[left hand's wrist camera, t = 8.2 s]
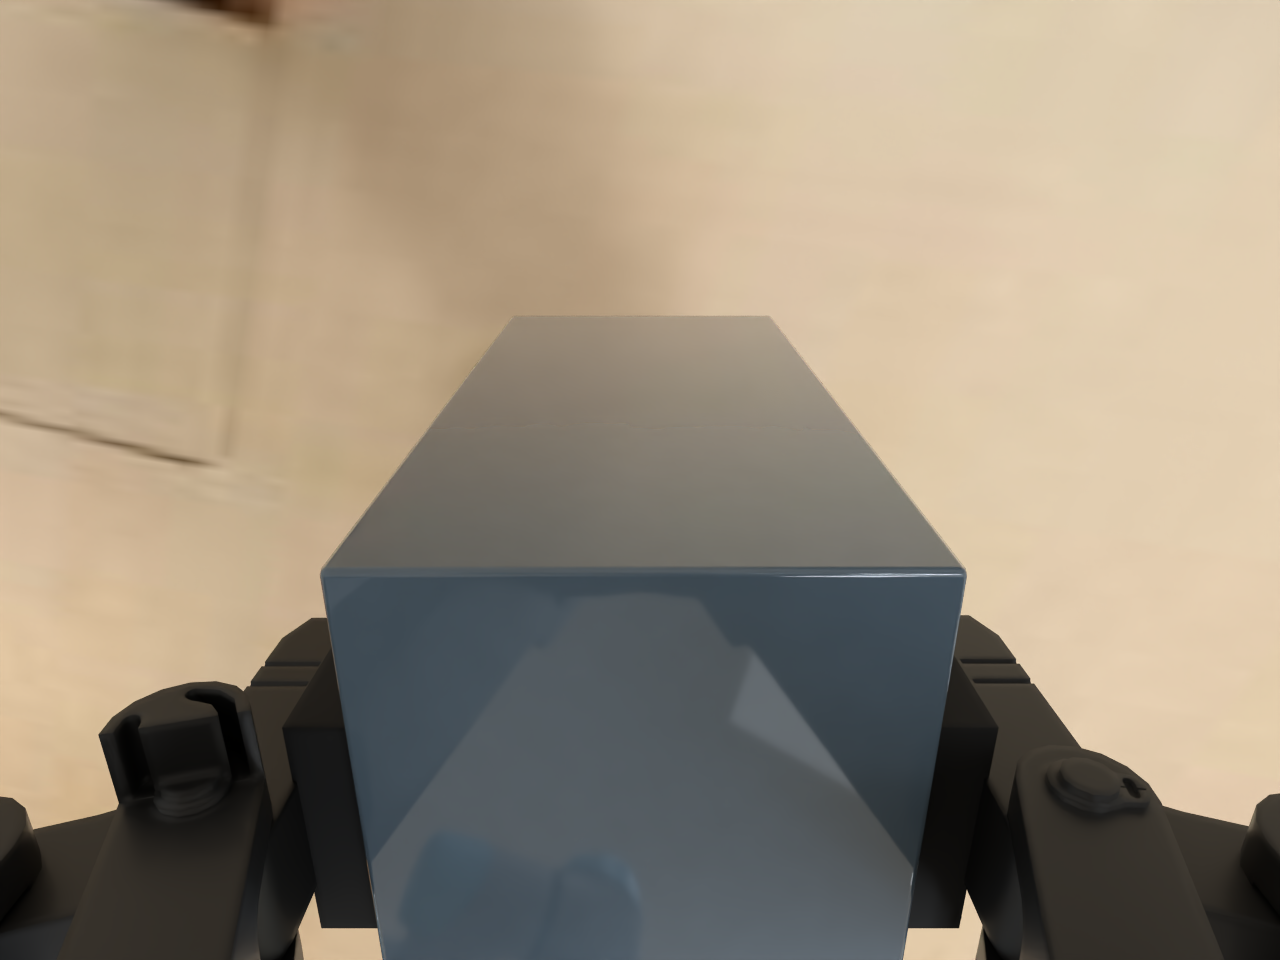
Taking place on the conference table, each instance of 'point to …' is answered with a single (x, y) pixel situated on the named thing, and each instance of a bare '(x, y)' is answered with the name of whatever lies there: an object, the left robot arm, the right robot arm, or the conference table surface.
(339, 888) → the left robot arm
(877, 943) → the block
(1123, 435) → the conference table surface
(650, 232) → the conference table surface
